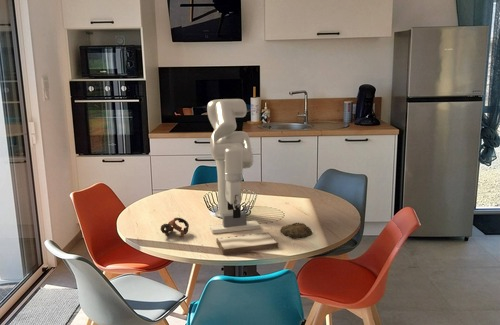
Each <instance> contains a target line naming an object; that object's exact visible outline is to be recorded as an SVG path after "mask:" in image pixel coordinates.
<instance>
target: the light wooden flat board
mask: <svg viewBox="0 0 500 325" xmlns="http://www.w3.org/2000/svg"><path fill="white" fill-rule="evenodd" d="M215 239H216V242H215V243H216V245H217V247H218V249H219V250H220V252H221V253H222V255H223V256H224V255H234V254H239V253H240V254H241V253H248V252H256V251H265V250H273V249H279V242H278V241H277V240H276V239H275V237H274V236H272V235H271V233H269V232H259V233H250V234H243V235H232V236H224V237H223V236H222V237H217V238H215Z"/></svg>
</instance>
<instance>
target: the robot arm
mask: <svg viewBox="0 0 500 325" xmlns="http://www.w3.org/2000/svg"><path fill="white" fill-rule="evenodd" d="M206 106H207V107H206V111H207V118H208V120H209V122H210V124H211V127H212V128H213V132H212V133H211V136H210V140H209V144H210V146H209V147H210V154H211V157H212V160H214V161H215V165H216V172H217V173H216V174H217V200H218V201H217V206H218V208H217V210H216V211H214V214H215V216H216V217H218V218H220V219H222V214H230V213H233V218H240V217H241V212H242V210H241V203H242V183H241V182H242V181H243V180H244V179H243V178H244V177H243V171H244V169H250V168H251V167H252V166H254V154H253V151H252V149H253V148H252V145H251V140H250V136H249V133H247V132H246V131H243V130H242V131H241V130H239V131H238V130H236V129H237V127H238V126H237V122H236V120H237V119H236V118H244V117H246V115H247V104H246V102H245V101H244V99H241V98H223V99H222V98H221V99H213V100H210V101H209V102H208V103H207V105H206Z"/></svg>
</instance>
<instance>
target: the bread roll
mask: <svg viewBox="0 0 500 325" xmlns="http://www.w3.org/2000/svg"><path fill="white" fill-rule="evenodd" d="M280 233H281V234H282V235H284V236H286V237H287V238H290V239H292V240H301V239H305V238H307V237H309V236H311V235H313V230H312V229H311V227H310V226H308V225H306V224H305V223H304V222H303V223H302V222H293V223H291V224H287V225H283V226H282V227H281V228H280Z"/></svg>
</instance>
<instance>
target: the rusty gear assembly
mask: <svg viewBox="0 0 500 325" xmlns="http://www.w3.org/2000/svg"><path fill="white" fill-rule="evenodd" d="M176 222H178V223H182V224H184V227H181V226H179V225H178V223H176ZM182 228H183V229H182ZM189 228H190V225H189V222H188V221H186V219H184V218H182V217H174V218H173V219H172V220H169V222H168V223H163V224H161V226H160V231H161V233H162V234H164V235H165V236H166V237H168V236H169V233H170V232H174V231H175V230H176V231H177V232H179V233H180V234H179V238H180V239H182V238H184V236H186V234H188V232H189Z"/></svg>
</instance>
